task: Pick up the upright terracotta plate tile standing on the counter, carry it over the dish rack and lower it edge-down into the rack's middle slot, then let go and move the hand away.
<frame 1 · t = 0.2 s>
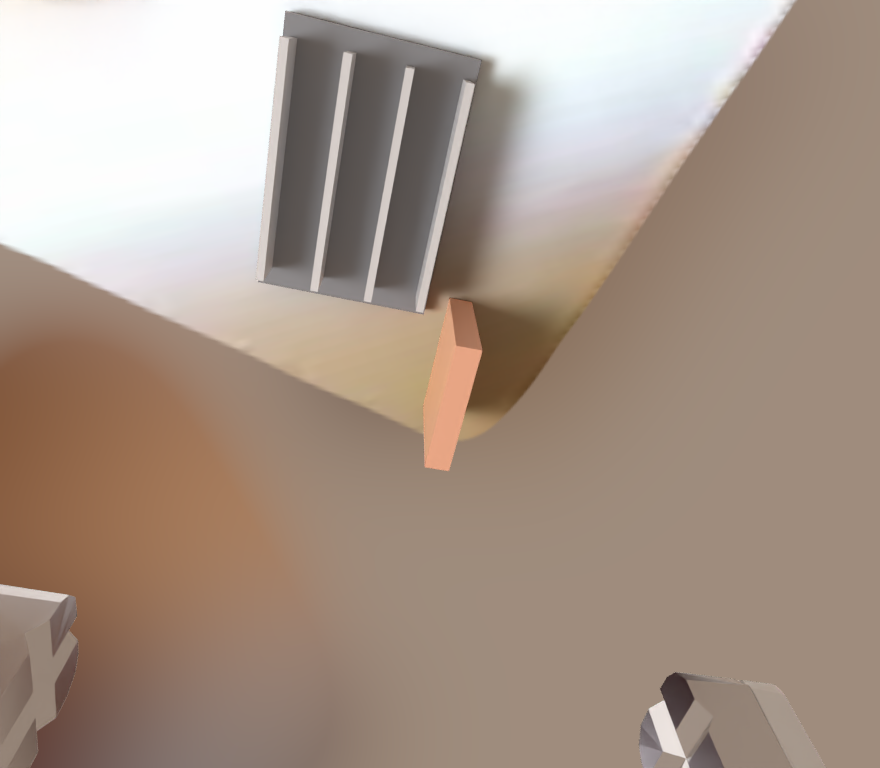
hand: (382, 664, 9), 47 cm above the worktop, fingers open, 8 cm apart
plate tile: (446, 355, 60), on the worktop
dish rack: (362, 175, 52), on the worktop
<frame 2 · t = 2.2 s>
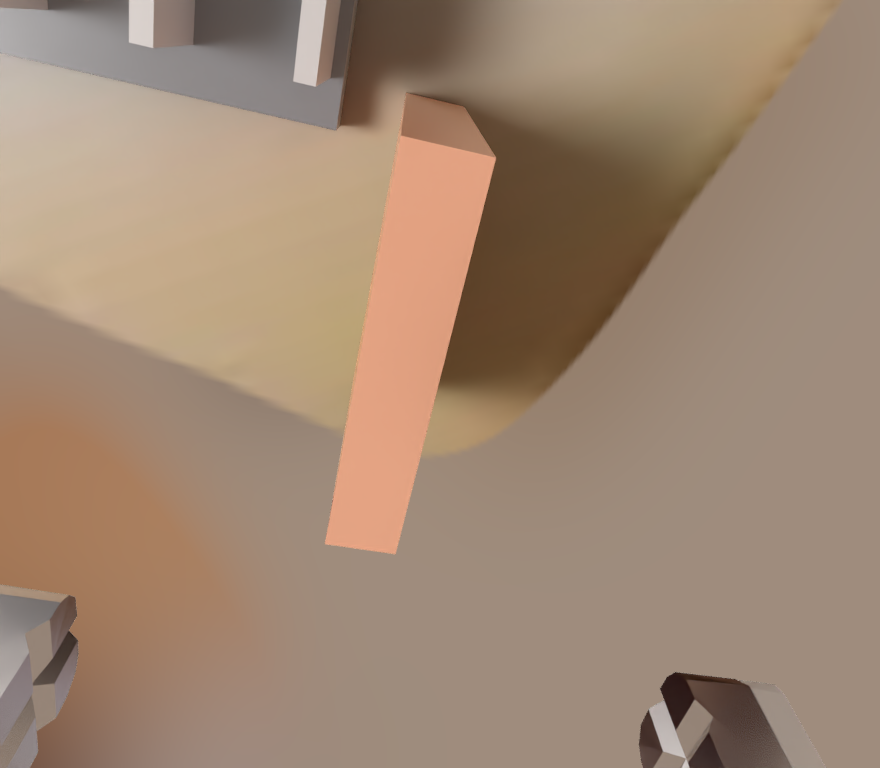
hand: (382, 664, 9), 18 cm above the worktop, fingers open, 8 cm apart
plate tile: (403, 254, 25), on the worktop
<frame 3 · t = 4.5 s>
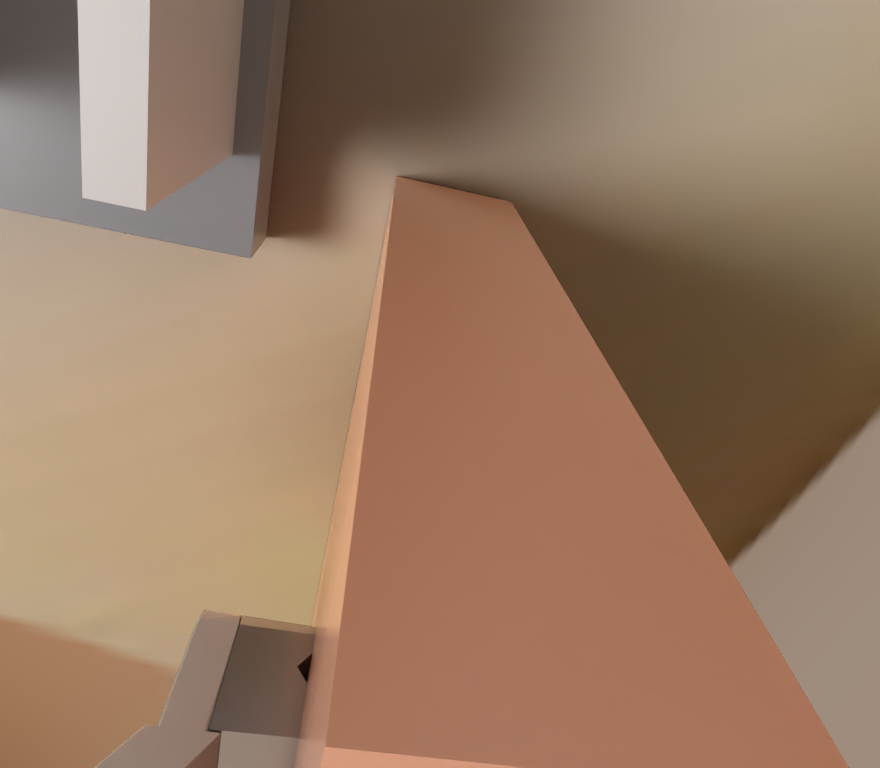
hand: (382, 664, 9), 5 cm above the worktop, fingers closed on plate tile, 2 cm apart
plate tile: (393, 455, 14), on the worktop, touching gripper
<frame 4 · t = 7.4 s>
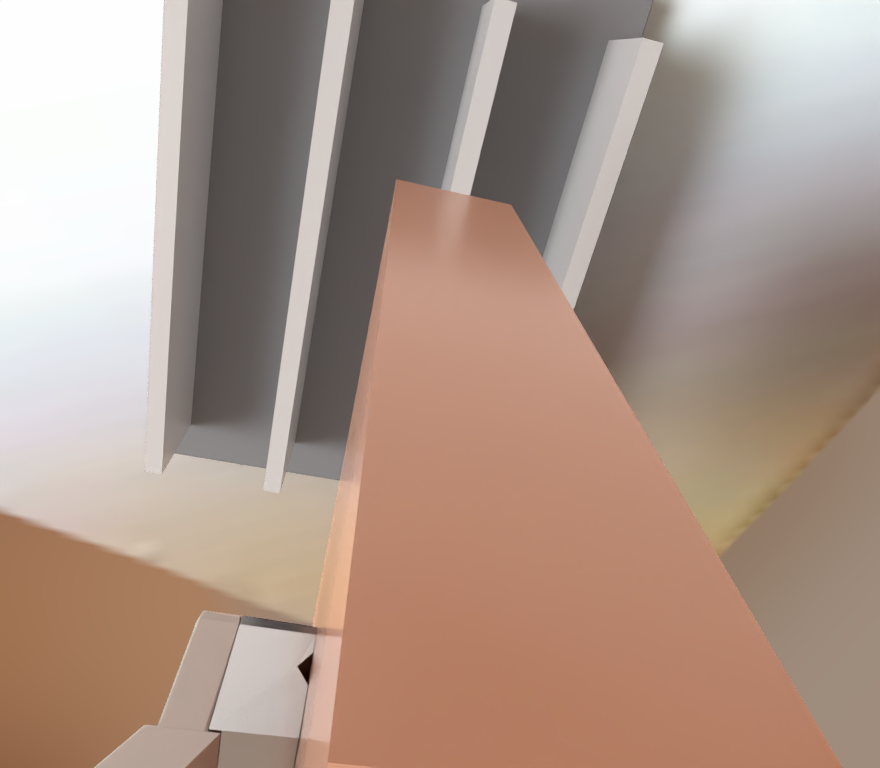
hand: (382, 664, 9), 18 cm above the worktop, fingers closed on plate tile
plate tile: (393, 457, 14), point 13 cm above the worktop, touching gripper
dish rack: (376, 246, 25), on the worktop
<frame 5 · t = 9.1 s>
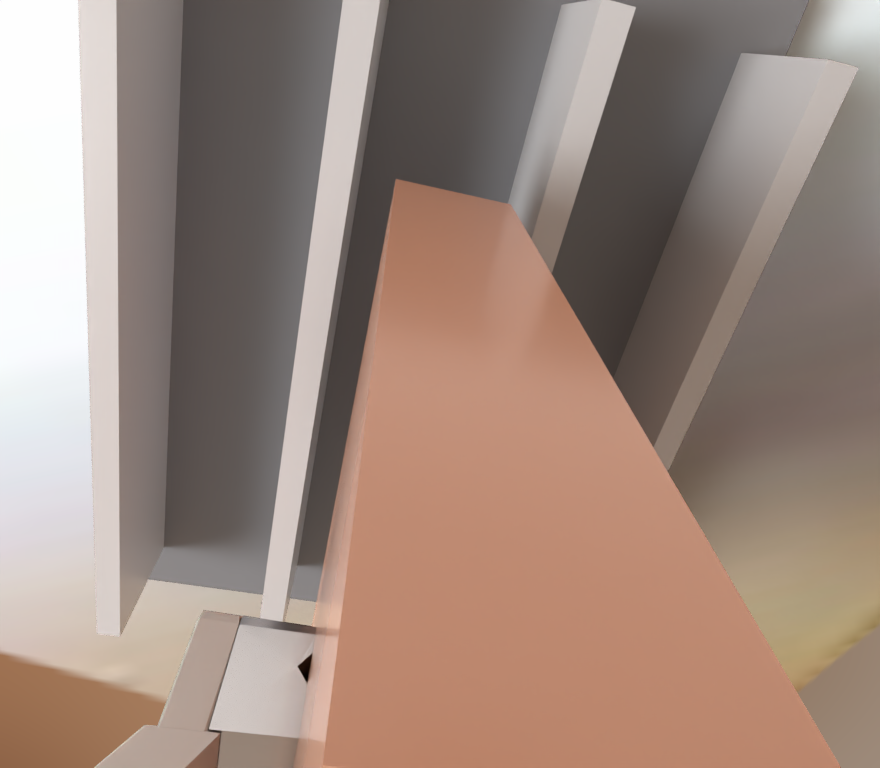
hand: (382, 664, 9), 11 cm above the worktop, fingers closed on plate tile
plate tile: (393, 457, 14), point 6 cm above the worktop, touching gripper
dish rack: (402, 325, 19), on the worktop
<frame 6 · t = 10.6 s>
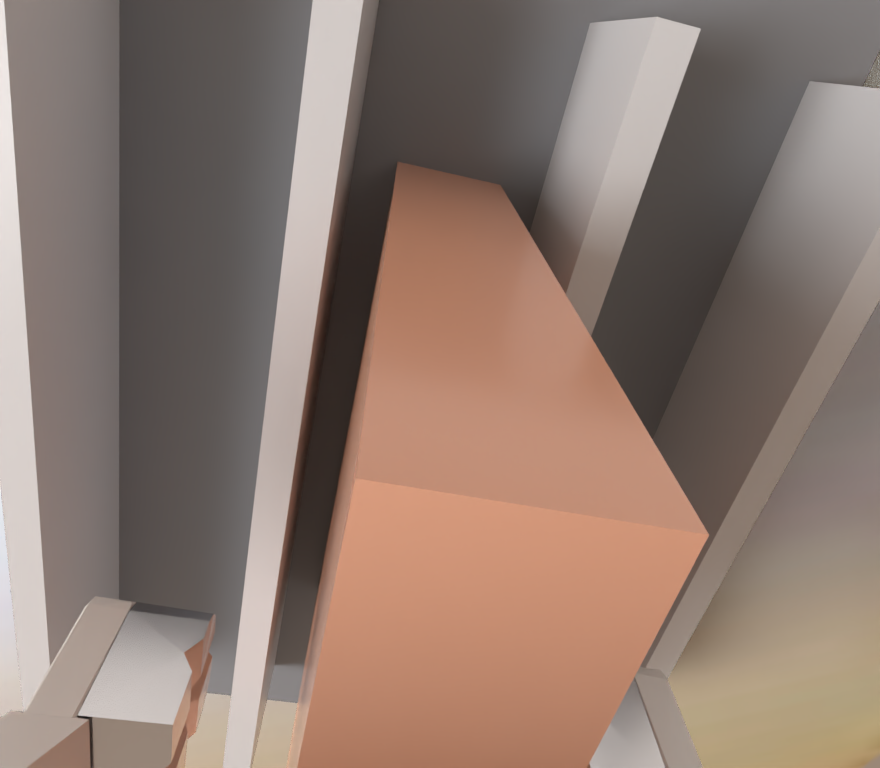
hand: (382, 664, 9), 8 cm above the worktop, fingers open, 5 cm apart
plate tile: (394, 419, 15), point 1 cm above the worktop, touching dish rack
dish rack: (395, 395, 16), on the worktop
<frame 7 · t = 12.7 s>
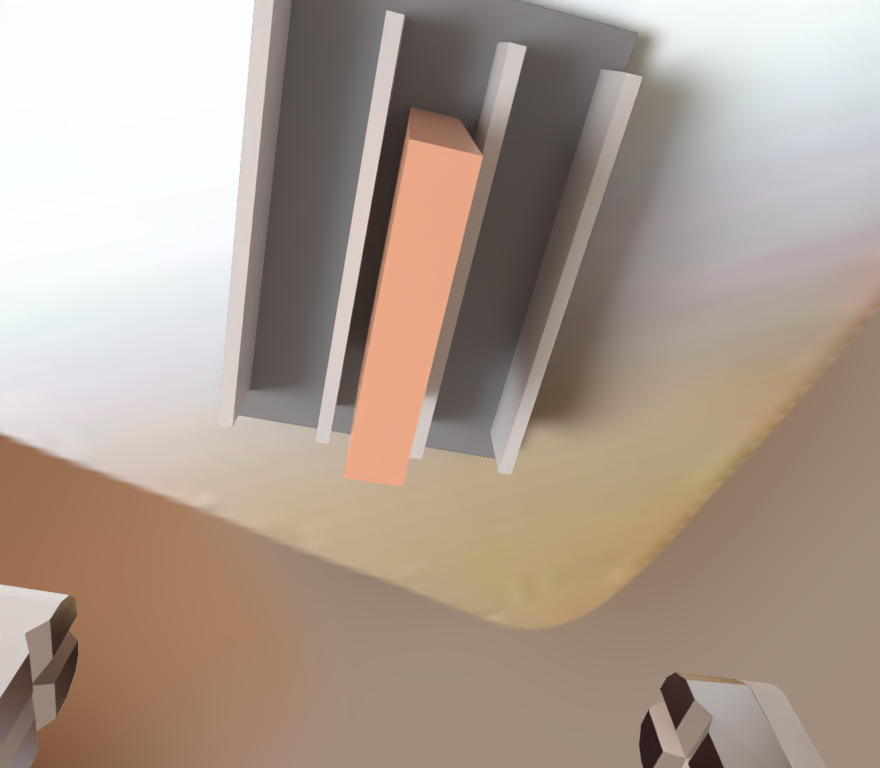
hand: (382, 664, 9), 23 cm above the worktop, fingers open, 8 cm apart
plate tile: (407, 245, 29), point 1 cm above the worktop, touching dish rack
dish rack: (407, 238, 30), on the worktop
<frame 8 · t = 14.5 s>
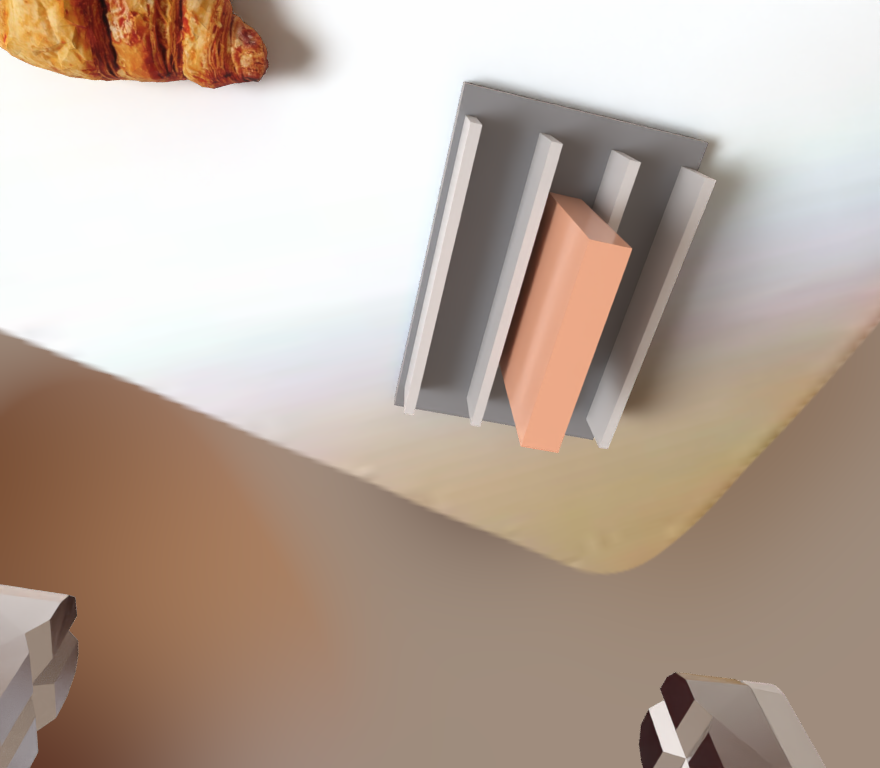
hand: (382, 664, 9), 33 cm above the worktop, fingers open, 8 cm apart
plate tile: (537, 284, 40), point 1 cm above the worktop, touching dish rack
dish rack: (534, 279, 41), on the worktop
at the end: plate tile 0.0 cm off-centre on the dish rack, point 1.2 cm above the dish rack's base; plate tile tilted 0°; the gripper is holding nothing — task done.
